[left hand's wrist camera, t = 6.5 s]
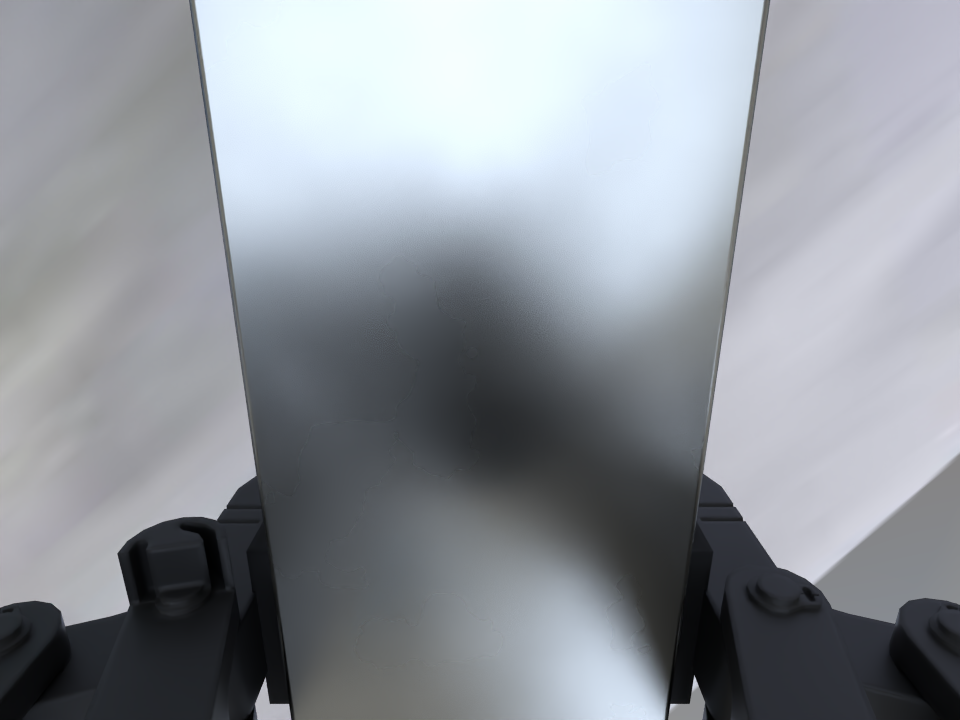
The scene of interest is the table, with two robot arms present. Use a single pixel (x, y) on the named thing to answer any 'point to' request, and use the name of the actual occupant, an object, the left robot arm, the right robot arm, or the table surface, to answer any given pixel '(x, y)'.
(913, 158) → the table surface
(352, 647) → the bar
